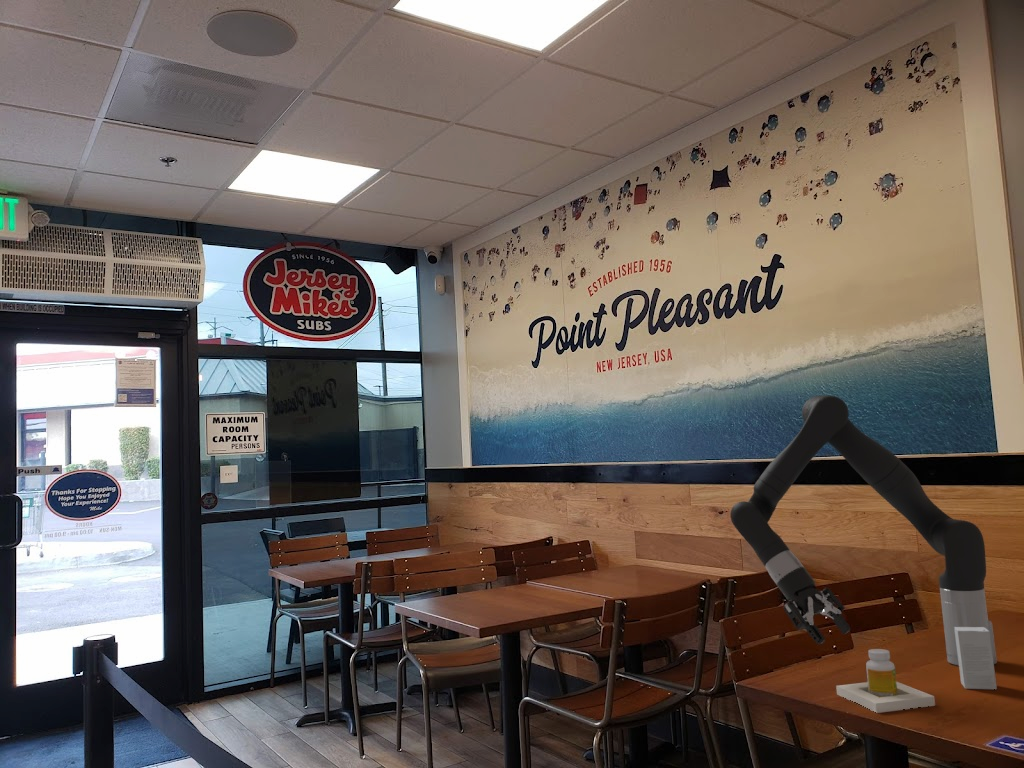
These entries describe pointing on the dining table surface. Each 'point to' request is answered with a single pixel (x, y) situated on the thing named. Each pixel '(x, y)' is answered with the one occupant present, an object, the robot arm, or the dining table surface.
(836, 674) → the dining table surface
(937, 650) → the dining table surface
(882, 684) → the supplement bottle
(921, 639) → the dining table surface
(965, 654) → the skincare box
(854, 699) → the hole plate
